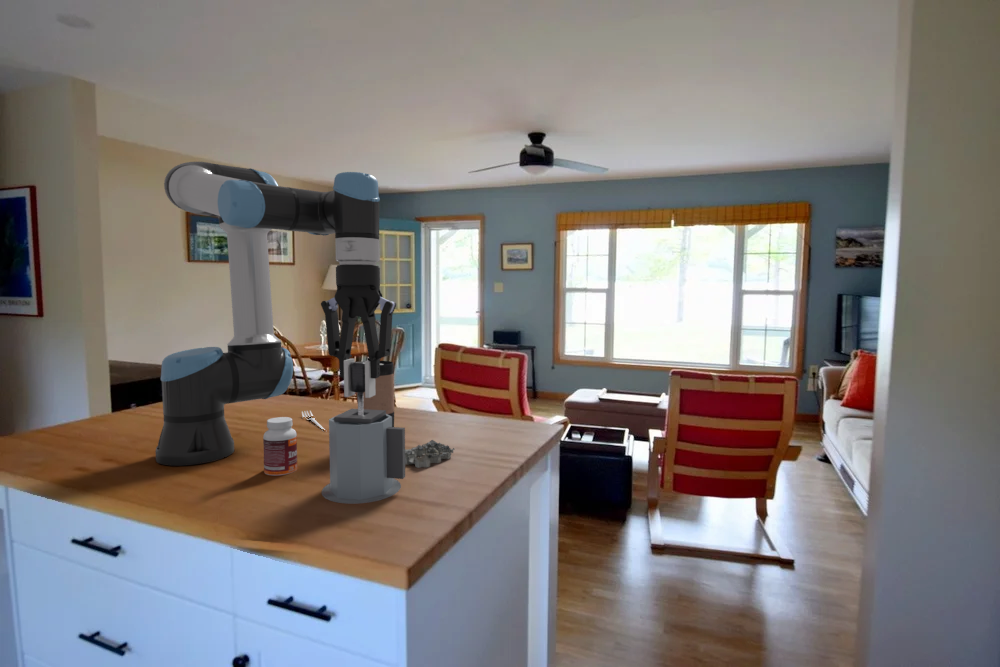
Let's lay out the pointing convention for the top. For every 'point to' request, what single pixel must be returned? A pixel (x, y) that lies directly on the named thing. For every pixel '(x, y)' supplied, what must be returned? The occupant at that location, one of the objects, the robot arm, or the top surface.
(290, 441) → the pill bottle
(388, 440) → the carafe
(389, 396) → the travel mug
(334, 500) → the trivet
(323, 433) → the top surface
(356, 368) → the plunger
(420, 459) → the egg carton
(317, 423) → the fork
